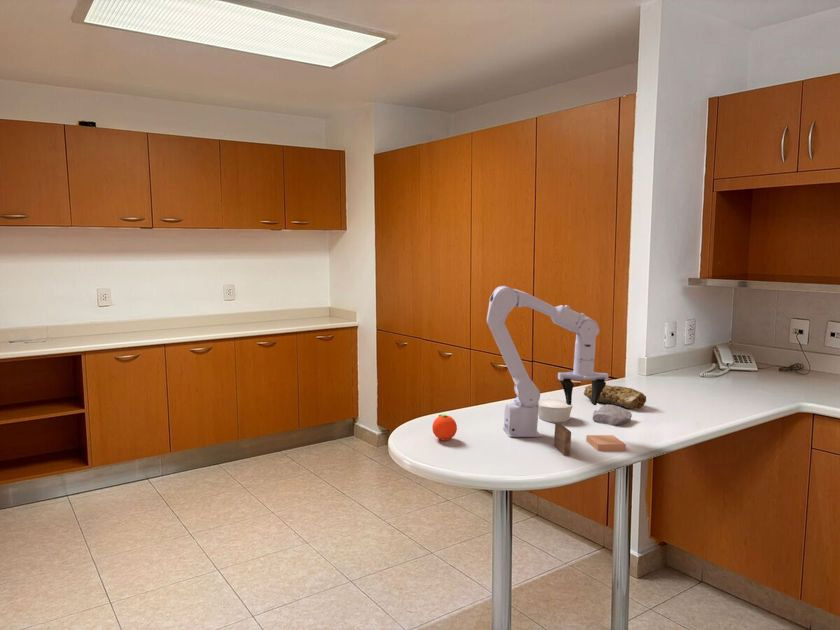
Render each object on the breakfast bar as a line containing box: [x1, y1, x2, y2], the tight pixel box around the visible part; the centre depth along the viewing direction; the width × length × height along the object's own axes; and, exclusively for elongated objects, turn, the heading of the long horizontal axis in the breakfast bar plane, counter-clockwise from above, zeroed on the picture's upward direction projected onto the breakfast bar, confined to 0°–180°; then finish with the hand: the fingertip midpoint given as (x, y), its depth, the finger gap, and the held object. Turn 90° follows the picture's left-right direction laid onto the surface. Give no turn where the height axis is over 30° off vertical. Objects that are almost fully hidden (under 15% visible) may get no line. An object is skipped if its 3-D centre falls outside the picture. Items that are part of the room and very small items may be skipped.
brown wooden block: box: [553, 423, 572, 457], centre depth 165 cm, size 2×8×6 cm, turn 7°
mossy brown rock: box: [583, 384, 647, 410], centre depth 218 cm, size 13×8×20 cm
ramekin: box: [538, 398, 573, 424], centre depth 196 cm, size 11×11×5 cm
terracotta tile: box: [585, 434, 627, 452], centre depth 171 cm, size 2×8×8 cm
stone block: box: [592, 404, 633, 427], centre depth 196 cm, size 12×5×10 cm
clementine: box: [431, 414, 458, 441], centre depth 171 cm, size 8×7×7 cm
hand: (581, 404), depth 178 cm, fingers open, 7 cm apart
